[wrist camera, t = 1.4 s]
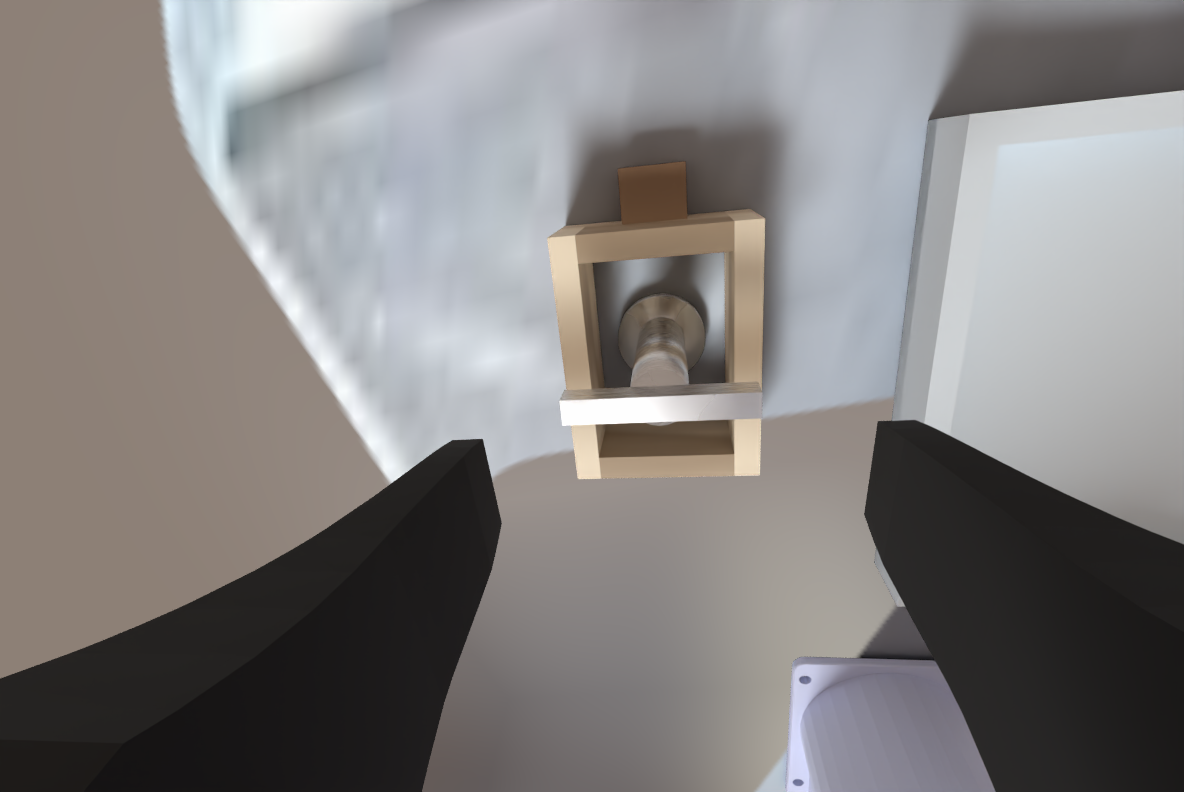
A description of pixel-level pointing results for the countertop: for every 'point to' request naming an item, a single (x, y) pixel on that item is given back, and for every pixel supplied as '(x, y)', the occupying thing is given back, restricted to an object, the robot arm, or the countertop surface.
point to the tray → (1055, 299)
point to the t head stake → (661, 374)
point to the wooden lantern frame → (644, 232)
